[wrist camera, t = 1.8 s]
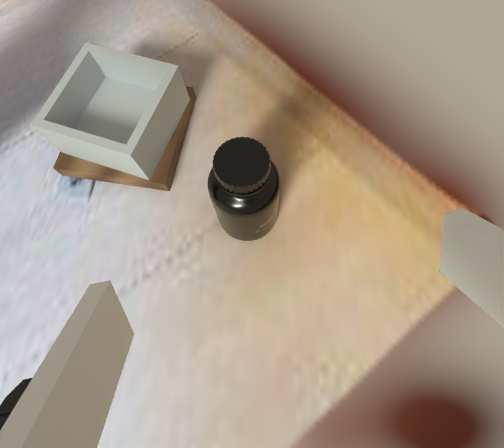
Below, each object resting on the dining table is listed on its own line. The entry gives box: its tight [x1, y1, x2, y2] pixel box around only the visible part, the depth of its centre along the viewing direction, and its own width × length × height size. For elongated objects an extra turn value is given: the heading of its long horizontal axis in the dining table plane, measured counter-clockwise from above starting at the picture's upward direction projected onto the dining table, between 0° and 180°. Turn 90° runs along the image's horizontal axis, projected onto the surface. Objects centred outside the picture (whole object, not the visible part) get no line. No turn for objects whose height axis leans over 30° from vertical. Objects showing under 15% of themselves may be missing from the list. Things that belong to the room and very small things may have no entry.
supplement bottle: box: [208, 137, 281, 241], centre depth 31 cm, size 7×7×12 cm
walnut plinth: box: [54, 87, 196, 191], centre depth 41 cm, size 14×14×2 cm
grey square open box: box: [31, 42, 190, 180], centre depth 37 cm, size 12×12×6 cm
